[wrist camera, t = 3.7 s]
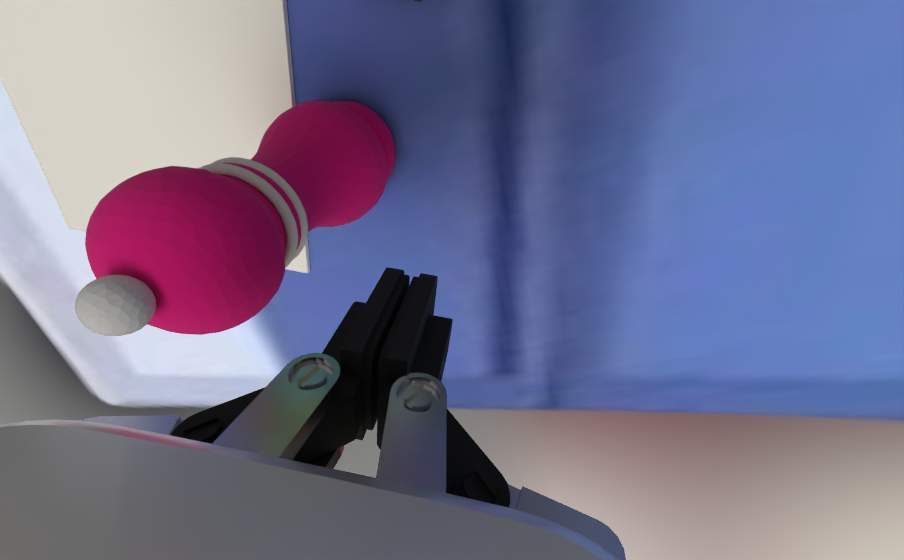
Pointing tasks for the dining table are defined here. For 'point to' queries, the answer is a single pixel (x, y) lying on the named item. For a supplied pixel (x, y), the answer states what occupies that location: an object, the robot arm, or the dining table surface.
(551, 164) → the dining table surface
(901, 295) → the dining table surface
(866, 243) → the dining table surface
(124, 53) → the rubber mat
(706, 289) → the dining table surface
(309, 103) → the pepper mill
